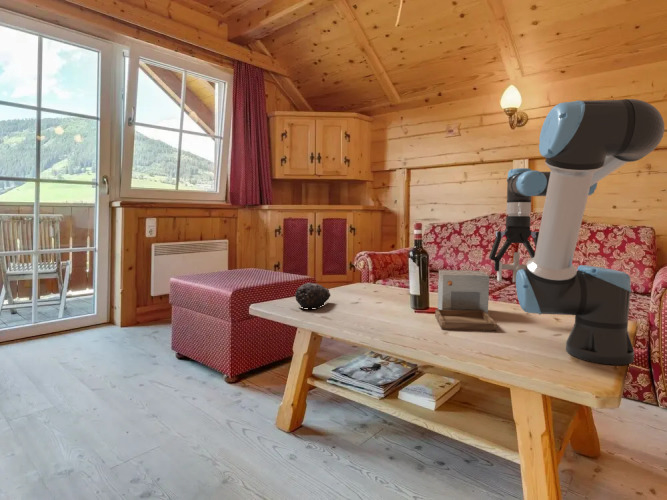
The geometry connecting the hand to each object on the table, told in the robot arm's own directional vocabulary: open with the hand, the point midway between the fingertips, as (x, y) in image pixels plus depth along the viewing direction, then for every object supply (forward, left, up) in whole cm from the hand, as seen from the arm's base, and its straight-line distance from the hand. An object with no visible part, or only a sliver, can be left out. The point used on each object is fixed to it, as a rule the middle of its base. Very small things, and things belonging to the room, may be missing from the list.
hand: (515, 281), depth 140 cm
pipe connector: (0, 0, -1) cm, 1 cm away
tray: (-5, +17, -14) cm, 23 cm away
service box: (+11, +15, -14) cm, 24 cm away
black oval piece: (+14, +72, -14) cm, 75 cm away
